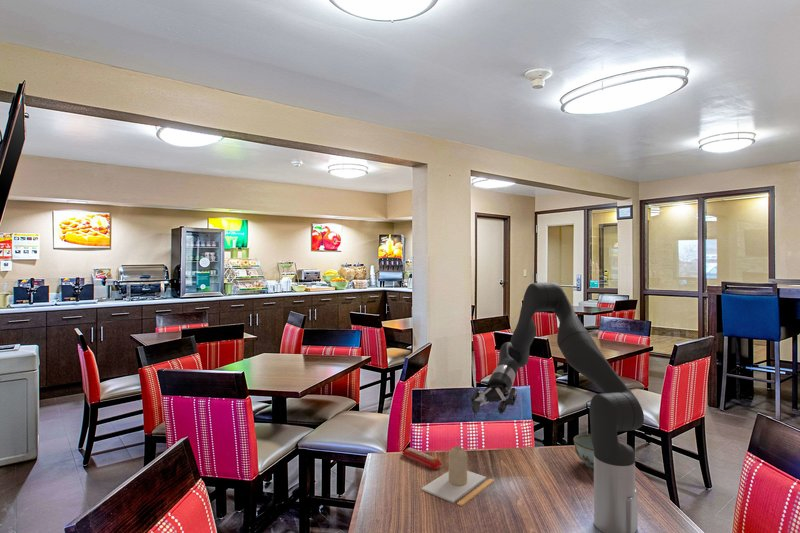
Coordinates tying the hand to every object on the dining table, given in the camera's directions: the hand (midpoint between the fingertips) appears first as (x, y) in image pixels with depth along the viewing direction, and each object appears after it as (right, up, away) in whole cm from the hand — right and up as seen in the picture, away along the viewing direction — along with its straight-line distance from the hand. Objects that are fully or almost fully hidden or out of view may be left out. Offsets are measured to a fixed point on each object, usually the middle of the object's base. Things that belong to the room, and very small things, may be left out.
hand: (486, 411), depth 138 cm
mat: (-11, -20, -5) cm, 23 cm away
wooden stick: (-5, -20, -10) cm, 23 cm away
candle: (-10, -20, -4) cm, 22 cm away
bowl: (+36, -20, +6) cm, 42 cm away
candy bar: (-20, -20, +10) cm, 30 cm away
